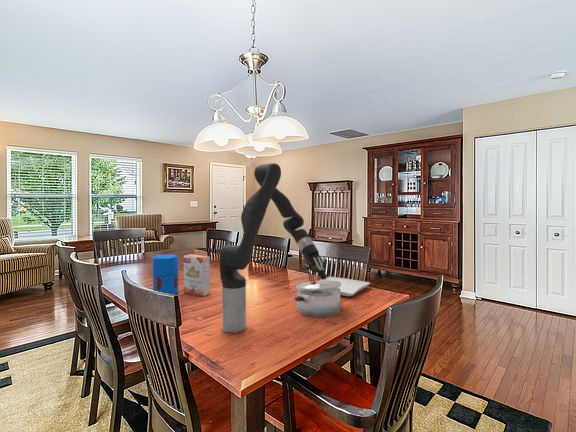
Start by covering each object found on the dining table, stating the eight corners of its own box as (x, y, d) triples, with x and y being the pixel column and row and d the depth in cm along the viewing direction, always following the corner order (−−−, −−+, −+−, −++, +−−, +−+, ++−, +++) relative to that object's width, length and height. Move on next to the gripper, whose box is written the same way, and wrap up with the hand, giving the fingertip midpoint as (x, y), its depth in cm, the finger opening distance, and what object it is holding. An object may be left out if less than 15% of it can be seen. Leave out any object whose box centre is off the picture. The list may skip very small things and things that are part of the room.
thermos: (170, 314, 141) (169, 259, 139) (148, 313, 143) (147, 258, 141) (183, 306, 151) (182, 255, 150) (162, 305, 153) (162, 254, 152)
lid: (286, 288, 150) (286, 283, 151) (319, 281, 163) (319, 277, 163) (316, 292, 133) (315, 287, 133) (350, 284, 145) (350, 279, 145)
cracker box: (183, 293, 173) (182, 255, 172) (191, 290, 178) (191, 253, 177) (202, 297, 166) (202, 257, 165) (210, 294, 172) (210, 255, 171)
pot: (283, 308, 149) (283, 290, 148) (324, 298, 164) (324, 281, 163) (311, 322, 132) (311, 301, 132) (353, 309, 148) (353, 290, 147)
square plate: (370, 288, 185) (371, 281, 185) (352, 300, 162) (352, 293, 162) (329, 281, 200) (329, 275, 200) (307, 291, 178) (307, 285, 177)
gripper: (300, 244, 147) (317, 276, 138) (321, 242, 155) (339, 272, 146) (293, 254, 152) (309, 285, 142) (314, 251, 159) (331, 280, 150)
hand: (324, 278), depth 144 cm, fingers closed
